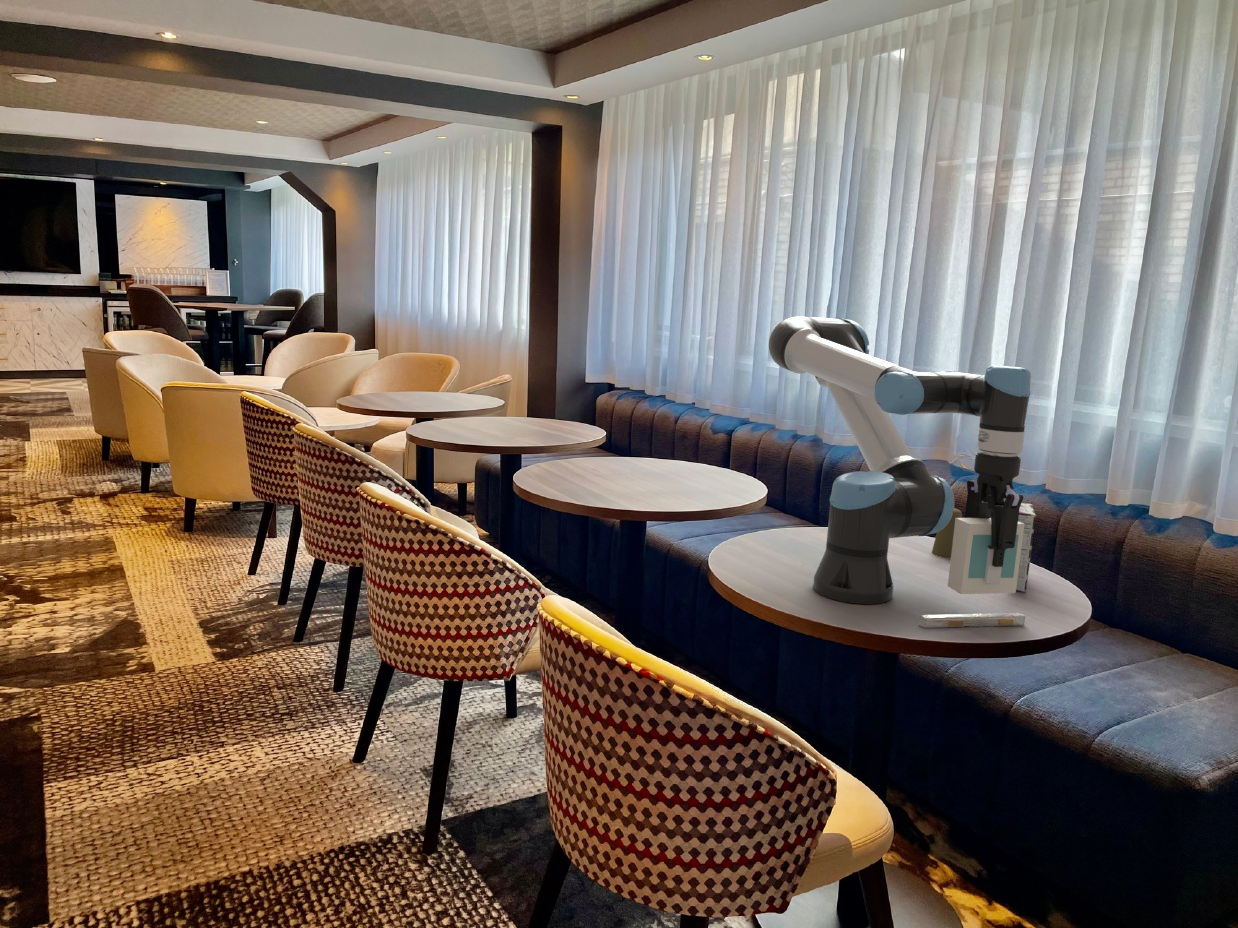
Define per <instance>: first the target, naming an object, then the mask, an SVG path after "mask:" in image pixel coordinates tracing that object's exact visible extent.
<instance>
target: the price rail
mask: <svg viewBox="0 0 1238 928" xmlns="http://www.w3.org/2000/svg"><path fill="white" fill-rule="evenodd" d="M1025 621H1026V615H1024V614H1022V613H1021V612H1013V613H1011V612H1010V613H1009V612H1007V613H1002V612H1000V613H965V614H963V613H960V614H959V613H958V614H957V613H954V614H951V613H950V614H920V615H919V621H918V622H919V623H918V625H919V627H922V628H923V629H924V628H925V629H928V628H965V627H964V626H970V627H969V628H971V626H979V627H1014V626H1016V627H1017V626H1018V627H1019V626H1021V627H1023V626H1025Z"/></svg>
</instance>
